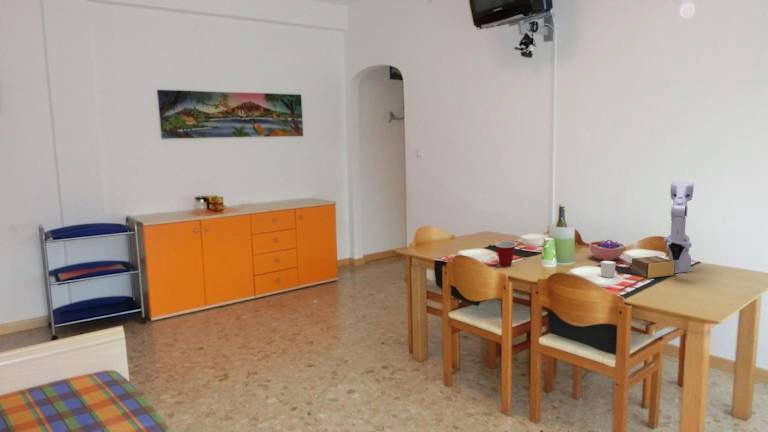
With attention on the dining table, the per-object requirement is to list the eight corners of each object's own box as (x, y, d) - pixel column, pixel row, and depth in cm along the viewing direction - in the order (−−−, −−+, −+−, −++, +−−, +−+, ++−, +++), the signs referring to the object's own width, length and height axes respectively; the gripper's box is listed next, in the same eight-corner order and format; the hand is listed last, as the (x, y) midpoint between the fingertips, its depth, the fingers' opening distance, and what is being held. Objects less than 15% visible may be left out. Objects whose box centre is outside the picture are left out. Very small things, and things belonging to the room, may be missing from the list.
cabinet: (655, 269, 268) (656, 255, 267) (670, 274, 258) (671, 260, 257) (631, 272, 264) (632, 258, 263) (645, 277, 255) (646, 263, 254)
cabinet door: (673, 274, 258) (674, 261, 257) (675, 274, 257) (676, 261, 256) (647, 277, 254) (648, 263, 253) (649, 277, 253) (649, 264, 252)
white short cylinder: (606, 278, 255) (606, 264, 254) (596, 275, 261) (597, 261, 260) (618, 277, 257) (619, 263, 255) (608, 273, 263) (609, 259, 262)
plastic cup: (492, 267, 281) (492, 244, 279) (498, 262, 291) (498, 240, 289) (513, 269, 276) (513, 246, 274) (518, 264, 286) (518, 242, 284)
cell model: (616, 255, 300) (616, 235, 298) (628, 264, 280) (629, 242, 278) (584, 255, 301) (585, 235, 299) (595, 264, 282) (595, 243, 280)
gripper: (658, 228, 253) (657, 256, 255) (683, 234, 239) (681, 264, 241) (671, 227, 255) (669, 255, 257) (696, 233, 241) (694, 262, 243)
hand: (676, 259), depth 249 cm, fingers closed
